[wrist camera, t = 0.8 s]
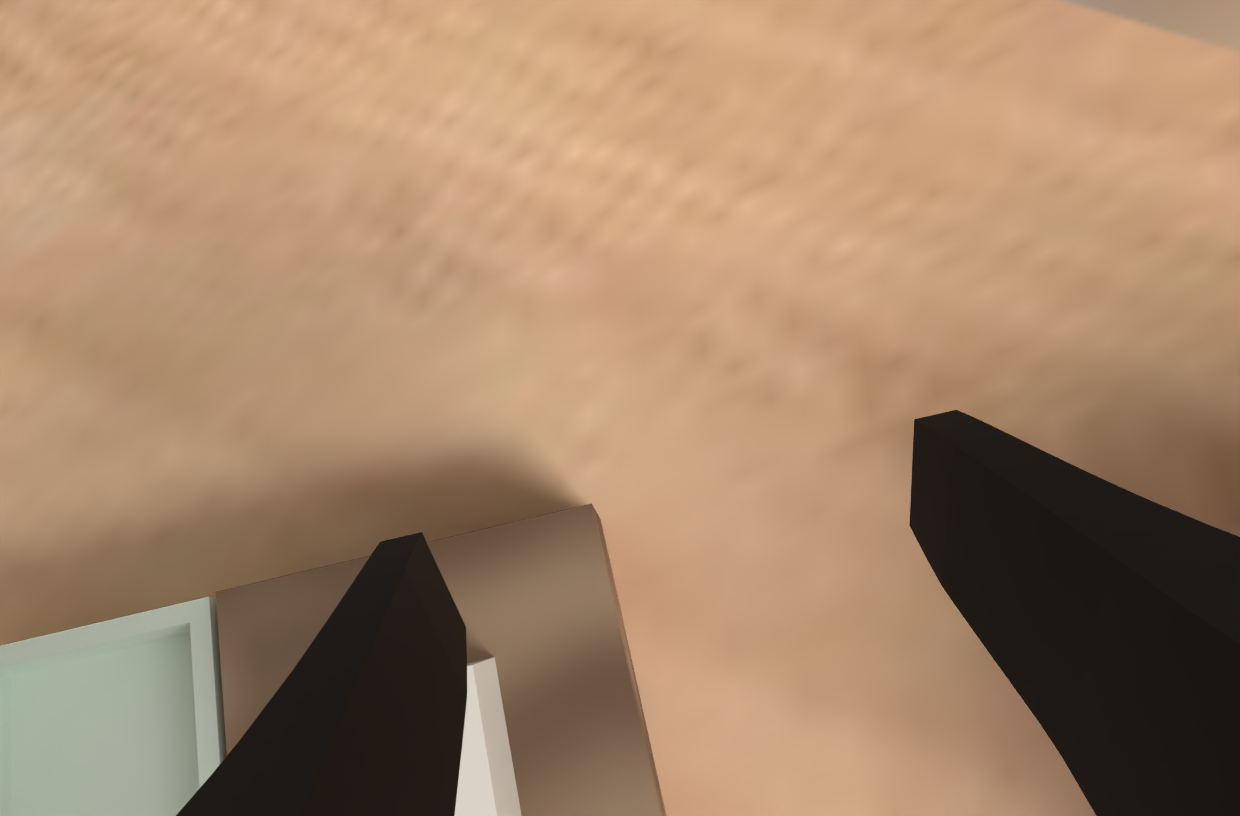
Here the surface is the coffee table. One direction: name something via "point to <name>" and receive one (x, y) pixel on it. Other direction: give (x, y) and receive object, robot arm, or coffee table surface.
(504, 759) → the cream block
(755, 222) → the coffee table surface
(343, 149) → the coffee table surface
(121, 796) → the sage box
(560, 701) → the brown flat block
